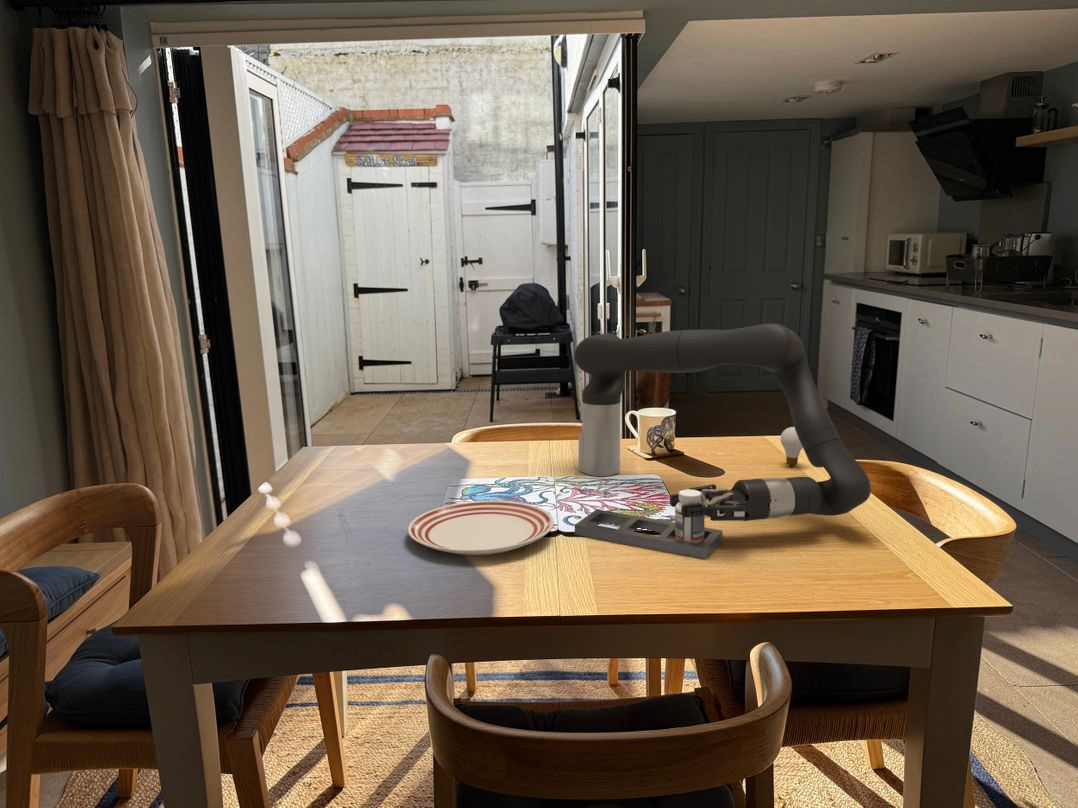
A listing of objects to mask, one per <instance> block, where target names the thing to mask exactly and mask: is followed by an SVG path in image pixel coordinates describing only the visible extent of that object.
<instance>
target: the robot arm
mask: <svg viewBox="0 0 1078 808" xmlns="http://www.w3.org/2000/svg"><path fill="white" fill-rule="evenodd" d="M804 348H805V347H804V345H803V341H802V340H801V338H800V337H799V335H797V334H796V332H794V331H792V330H791V329H790V328H787V327H786V326H784V325H782V324H779V323H764V324H757V325H752V326H746V327H745V326H743V327H741V328H740V327H738V328H734V329H733V328H732V329H685V330H683V329H681V330H667V331H660V332H653V333H649V334H644V335H639V336H636V337H635V336H634V337H629V338H621V337H619V336H618V335H616V334H614V333H600V334H596V335H591V336H588V337H586V338H584V339H583V340H581V341H580V342H579V343H578V345H577V346H576V348H575V350H574V361H575V363H576V365H577V366H578V367H577V368H579V369H580V370H581V371H583V372H584V373H586V374H589V375H590V379H589V381H588V383H587V385H585V387H584V388H583V390H582V393H581V432H579V433H578V472H581V473H583V474H586V475H589V476H596V477H608V476H615V475H617V474H619V473H620V472H621V422H622V421H621V419H622V418H621V413H622V412H621V407H622V405H621V404H622V402H621V401H622V400H621V399H622V394H623V392H624V389H625V382H626V380H625V379H626V372H630V371H631V372H642V373H643V372H646V373H668V374H669V373H670V374H672V373H673V374H674V373H675V374H679V373H680V374H683V373H697V372H698V373H699V372H702V371H706V370H710V369H713V368H715V367H719V366H724V365H726V366H727V365H739V366H740V365H741V366H753V367H759V368H763V369H764V370H767V371H768V372H770V373H771V375H773V377H774V378H775V380H776V381H777V383H778V384H779V387H781V389H782V391H783V394H784V395H785V398H786V401H787V403H788V406H789V411H790V416H791V421H792V423H793V427H795V431H796V433H797V436H798V438H799V440H800V443H801V445H802V447H803V448H802V449H803V452H804V453H805V456H806V457H807V459H808V462H809V464H811V465H812V466H813V467H815V468H819V469H820V468H824V470H825V471H826V472H827V474H828V475H829V478H828V479H827V480H822V481H816V480H815V479H814V478H813V477H809V476H794V477H793V476H792V477H791V476H790V477H761V478H748V479H739V480H736V481H735V483H734V485H733V487H732V488H731V489H727V488H724V487H722V488H720V487H719V488H717V485H716V484H706V485H701V486H695V487H689V488H688V490H697V491H699V492H701V501H700V503H696V504H684V505H682V507H681V515H682V516H683V517H685V518H686V517H697V516H702V515H703V517H705V518H707V519H708V518H710V521H712V522H714V521H715V522H720V521H721V522H722V521H723V522H725V521H726V522H729V521H731V522H732V521H733V522H735V521H739V522H740V521H741V522H742V521H744V522H749V521H759V520H771V519H772V520H773V519H780V518H783V517H788V516H799V515H808V514H812V515H817V516H818V515H819V516H831V517H832V516H840V515H844V514H848V513H850V512H851V511H853V510H854V509H856V508H858V507H860V506H861V505H862V504H865V502H867V501H868V500H869V498H870V497H871V496H870V495H871V493H872V492H871V491H872V489H871V481H870V478H869V477H868V475H867V473H866V471H865V470H864V468H863V467H862V466H861V465H860V464H859V462H858V461H857V460H856V459H855V457H854V456H853V455H852V454H851V453H850V452H849V451H848V449H846V448H845V446H844V443H843V442H842V439H841V437H840V435H839V433H838V431H837V429H836V427H835V424H834V423H833V421H832V419H831V416H830V415H829V413H828V411H827V408H826V406H825V404H824V403H823V400H822V399H821V398H822V397H821V395H820V394H819V391H818V389H817V387H816V384H815V382H814V378H813V375H812V372H811V368H810V366H809V362H808V358H807V354H806V351H805V349H804ZM679 502H680V501H679V493H673V494H671V495H670V496H669V505H670V507H672V508H675V507H676V504H677V503H679ZM705 518H704V519H705Z"/></svg>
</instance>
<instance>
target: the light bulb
mask: <svg viewBox="0 0 1078 808" xmlns="http://www.w3.org/2000/svg"><path fill="white" fill-rule="evenodd" d="M780 442H781V446H782V448H783V449H784V451H785V456H786V457H785V460H786V462H785V463H786V465H788V467H790V468H794V467H796V466H797V465H798V461H799V456H800V453H801V450H802V449H803V447H802V445H801V443H800V440H799V438H798V436H797V433H796V431H795V427H794V426H790V427H787V428H786V429H784V430H783V431H782V432H781V435H780Z"/></svg>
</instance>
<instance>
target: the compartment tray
mask: <svg viewBox="0 0 1078 808" xmlns="http://www.w3.org/2000/svg"><path fill="white" fill-rule="evenodd" d="M599 522H602V523H601V524H605V523H609V524H608V525H611V524H614V525H613V526H616V525H620V526H618V528H614V527H609V526H603V525H599V524H600V523H599ZM598 523H599V524H598ZM637 528H641V529H647V530H652V531H655V532H654V533H656V532H657V533H656V534H659V535H654V534H653V535H652V534H647V533H642V532H637V530H638V529H637ZM636 529H637V530H636ZM635 530H636V531H635ZM634 531H635V532H634ZM723 532H724V531H723V530H722V529H715V528H710V527H705V526H704V540H703V541H702V542H700V543H693V542H687V541H682V540H676V538H675V521H673V522H672V521H668V520H662V519H656V518H652V517H651V518H650V517H645V516H639V515H638V516H637V515H634V514H633V515H632V514H626V513H621V512H616V511H608V510H603V509H602V510H601V509H595V510H593V511H592V512H591V513H589V514H588V515H587V516H585V517H583V518H582V519H581V520H579V521H578V522H576V523H575V524H574V536H579V537H583V538H584V537H585V538H590V539H596V540H600V541H607V542H611V543H616V544H617V543H618V544H620V545H621V544H622V545H626V546H627V545H628V546H632V547H636V548H637V547H638V548H643V549H644V548H645V549H648V550H654V551H658V552H659V551H660V552H665V553H669V554H675V555H680V556H681V555H682V556H686V557H691V558H696V559H702V560H707V559H708V558H709V556H710V555H712V554H713V552H714V551H715V550H716V548H717V547H718V546H719V545H720V543H722V542H723Z"/></svg>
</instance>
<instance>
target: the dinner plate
mask: <svg viewBox="0 0 1078 808" xmlns="http://www.w3.org/2000/svg"><path fill="white" fill-rule="evenodd" d="M554 523H555V520H554V518H553V516H552V515H551V513H549V512H548V511H546V510H545V509H544V508H541V507H538V506H535V505H532V504H530V503H529V504H528V503H523V502H519V501H518V502H517V501H509V500H476V501H475V500H474V501H467V502H466V501H465V502H459V503H452V504H448V505H444V506H443V505H442V506H440V507H437V508H434V509H431V510H429V511H426V512H424V513H422V514H420V515H418V516H417V517H415V518H414V519H413V520H411V522H410V523H409V524H408V527H407V534H408V535H409V538H411V539H412V540H413V541H415V542H417V543H419V544H421V545H423V546H425V547H428V548H431V549H433V550H435V551H436V550H437V551H441V552H445V553H449V554H450V553H451V554H458V555H466V556H488V555H496V554H500V553H501V554H502V553H506V552H509V551H513V550H516V549H519V548H522V547H525V546H527V545H530V544H532V543H534V542H537V541H538V540H540V539H542V538H543V537H545V536H546V535H547V534H549V532H550V531H551V530H552V529H553V527H554Z"/></svg>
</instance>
